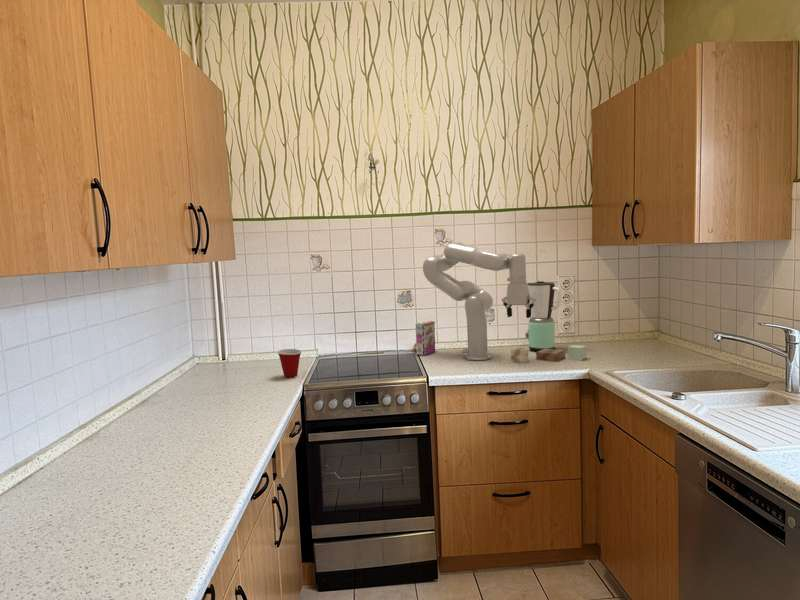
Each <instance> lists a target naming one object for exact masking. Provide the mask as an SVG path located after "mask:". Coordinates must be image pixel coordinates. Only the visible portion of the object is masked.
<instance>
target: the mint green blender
mask: <svg viewBox="0 0 800 600" xmlns="http://www.w3.org/2000/svg"><path fill="white" fill-rule="evenodd" d="M526 283H527V284H528V287H529V294H530V296H531V297H532V298H534V299H536V302H535V305H534V306H533V307H532V309H531V317H530V319H528V325H527V327H528V330H526V331H525V338H526V339H527V340H528V349H529V352H534V351H537V352H538V351H540V350H543V349H545V348H546V349H555V348H556V329H555V320H554V318H553V317H552V312H553V310H558V309H559V308H560V306H561V304H562V290H561V289H560V288H559V287H558V286H556V285H555V282H549V281H548V282H546V281H541V280H540V281H535V282H526ZM555 291H556V305H555V306H554V298H555ZM531 303H532V301H531V300H530V304H531Z"/></svg>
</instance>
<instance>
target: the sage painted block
mask: <svg viewBox="0 0 800 600" xmlns="http://www.w3.org/2000/svg"><path fill="white" fill-rule="evenodd" d="M567 349H568V351H567V353H568V355H567V356H568V360H571V361H580V362H581V361H583V359H584V360H585V358H587V346H586V345H581V344H580V345H579V344H578V345H577V344H573V345H569V346H568V347H567Z"/></svg>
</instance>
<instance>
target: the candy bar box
mask: <svg viewBox="0 0 800 600" xmlns="http://www.w3.org/2000/svg"><path fill="white" fill-rule="evenodd" d="M435 325H436V323H435V320H433V321H432V320H426V321H421V322H418V323H415V347H416V350H415V351H416V352H415V353H416V356H422V355H423V356H426V355H429V354H432V353H433V354H434V353H436V331H435V329H436V327H435Z"/></svg>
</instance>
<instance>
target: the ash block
mask: <svg viewBox="0 0 800 600" xmlns="http://www.w3.org/2000/svg"><path fill="white" fill-rule="evenodd" d="M510 362H511V363H517V364H524V363H527V362H529V347H518V346H517V347H513V348H511V349H510Z"/></svg>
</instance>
